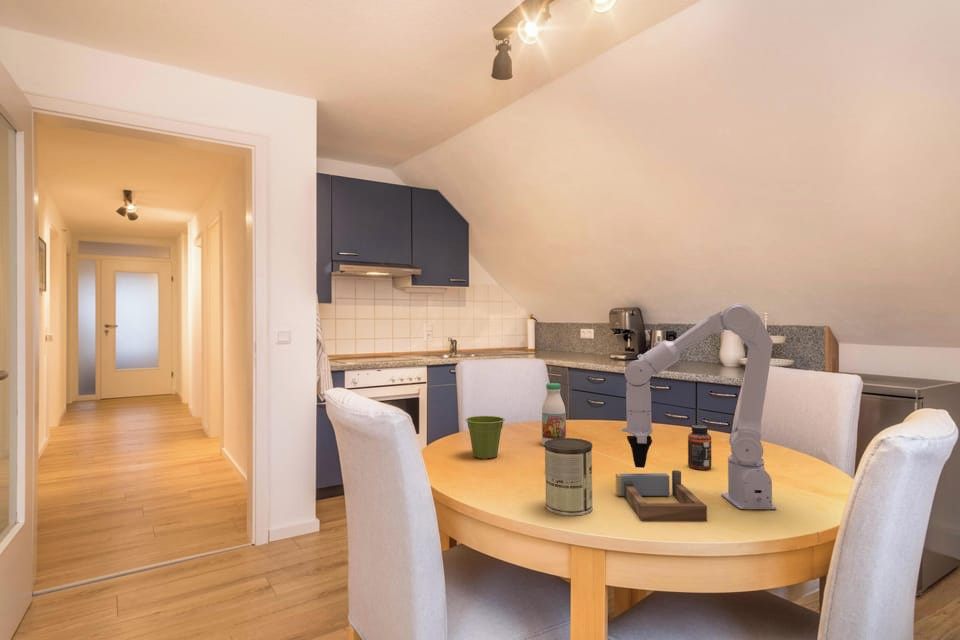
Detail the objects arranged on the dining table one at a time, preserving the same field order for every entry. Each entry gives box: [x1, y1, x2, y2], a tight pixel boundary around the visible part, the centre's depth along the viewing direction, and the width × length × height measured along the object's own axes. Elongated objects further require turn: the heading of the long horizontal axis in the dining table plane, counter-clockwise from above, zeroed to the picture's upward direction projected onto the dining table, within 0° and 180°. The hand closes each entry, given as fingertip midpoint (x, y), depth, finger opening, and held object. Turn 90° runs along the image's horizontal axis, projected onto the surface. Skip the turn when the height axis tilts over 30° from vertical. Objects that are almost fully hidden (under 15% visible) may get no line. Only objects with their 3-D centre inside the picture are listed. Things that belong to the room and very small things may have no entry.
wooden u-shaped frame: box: [624, 469, 708, 522], centre depth 116 cm, size 17×13×6 cm
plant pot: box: [464, 415, 506, 460], centre depth 160 cm, size 12×12×11 cm
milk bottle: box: [541, 382, 567, 446], centre depth 173 cm, size 8×8×20 cm
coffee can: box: [544, 437, 594, 517], centre depth 116 cm, size 10×10×14 cm
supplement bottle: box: [687, 424, 712, 471], centre depth 146 cm, size 6×6×11 cm
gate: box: [615, 472, 671, 497], centre depth 123 cm, size 12×2×4 cm, turn 89°
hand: (639, 466), depth 128 cm, fingers closed
